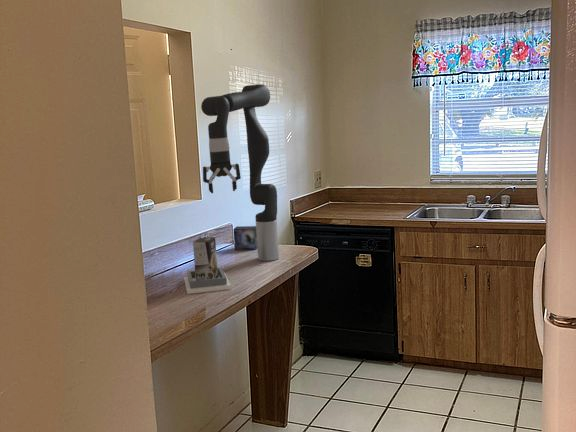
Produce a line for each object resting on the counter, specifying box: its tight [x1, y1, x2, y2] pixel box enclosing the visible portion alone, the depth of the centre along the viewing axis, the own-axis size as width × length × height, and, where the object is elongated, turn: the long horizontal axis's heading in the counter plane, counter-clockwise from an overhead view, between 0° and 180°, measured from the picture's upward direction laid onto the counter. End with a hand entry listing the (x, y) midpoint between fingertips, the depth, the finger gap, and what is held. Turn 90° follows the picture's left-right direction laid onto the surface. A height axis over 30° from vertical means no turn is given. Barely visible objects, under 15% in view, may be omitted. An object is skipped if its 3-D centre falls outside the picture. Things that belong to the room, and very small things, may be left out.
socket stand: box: [183, 267, 232, 295], centre depth 228 cm, size 19×16×4 cm
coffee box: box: [192, 236, 219, 280], centre depth 227 cm, size 9×6×16 cm
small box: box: [232, 225, 258, 251], centre depth 288 cm, size 11×6×10 cm, turn 80°
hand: (223, 191), depth 232 cm, fingers open, 8 cm apart
